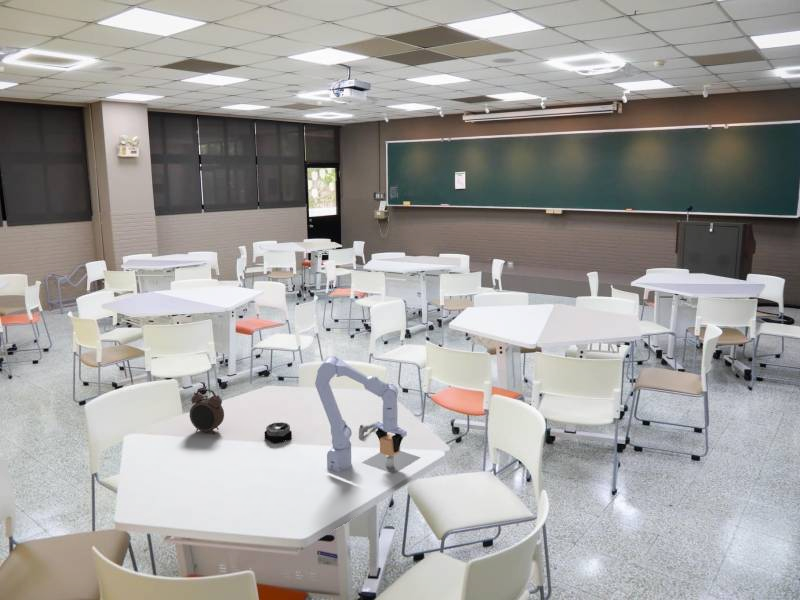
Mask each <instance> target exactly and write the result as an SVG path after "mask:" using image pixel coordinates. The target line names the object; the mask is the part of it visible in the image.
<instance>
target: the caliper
mask: <svg viewBox="0 0 800 600" xmlns="http://www.w3.org/2000/svg"><path fill="white" fill-rule="evenodd" d="M377 422H378V423H381V422H380V421H375V422H373V423H371V424H368V425H364V424H361V425H359V428H358V439H362V438H363V437H364V436H365V433H368V431H369V430H370V429H372V428H373V429H374V424H375V423H377Z"/></svg>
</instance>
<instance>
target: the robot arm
mask: <svg viewBox="0 0 800 600" xmlns="http://www.w3.org/2000/svg"><path fill="white" fill-rule="evenodd" d="M316 372H317V373H316V376H315V377H316V378H315V382H314V385H315V388H316V391H317V392H318V393H317V394H318V396H319V398H320V401H321V404H322V405H323V406H322V407H323V410H324V411H325V414H326V417H327V419H328V422H329V424H330V435H331V444H332V447H331V449H329V451H327V454H326V468H327V469H330V470H333V471H335V472H341V471H343V470H346V469H348V468H350V467H351V466H352V443H351V441H350V438H351V436H352V429H351V428H350V426H348V424H347V423H346V421H345V420H344V419H343V417H342V414H341V411H340V409H339V407H338V403H337V401H336V398H335V395H334V392H333V390H332V387H331V384H330V382H331V380H332V379H333V377H335V376H336V378H339V377H345V376H346V377H347V378H349V379H352V380H354V381H356V382H358V383H359V384H362V385H363V386H364V390H366V391H368V392H370V393H371V394H374V395H375V396H377V397H379V398H381V400H382V422H380V423H378V422H379V421H376V422H377V423H375V422H374V423H375V424H374V427H373V429H375V430H376V429H377V430H376V431H375V434H376V436H377V438H378V441H379V442H380V438H382V437H383V436H385V435H387V434H388V433H389V434H393V435H394V436H392V440H393V445H394V452H395V453H396V452H398V451H399V447H400V448H401V444H402V441H403V439H404V438H405V437H407V430H405V429H403V428H401V427H399V425H398V395H399V389H398V388H397V386H396V385H394V384H393V383H388V382H385V381H383V380H382V379H379V376H377V375H375V376H373V375H369V376H368V375H365V374H364V373H362V372H361V371H359V370H358V369H357V368H354V367H353V366H351V365H350V364H348V363H347V362H346V361H344V360H343V359H341V358H340V359H339V358H338V357H337V356H333V355H330V356H328V357H326V358H325V360H323V363H321V365H320V367H318V369H317V371H316Z"/></svg>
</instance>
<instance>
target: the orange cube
mask: <svg viewBox="0 0 800 600" xmlns="http://www.w3.org/2000/svg"><path fill="white" fill-rule="evenodd" d="M394 435H395V434H392V433H387V435H385V436H383V437H382V438H380V441H379V453H382V454H385V455H388V456H391V457H392V456H393V455H395V454H397V453H399V452H400V451H401V446H400V447H399V451H398V452H396V453H395V452H394V445H393V440H392V436H394Z"/></svg>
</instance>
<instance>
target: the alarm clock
mask: <svg viewBox="0 0 800 600" xmlns="http://www.w3.org/2000/svg"><path fill="white" fill-rule="evenodd" d="M201 391H206V392H210V393H212V395H211V396H210V397H209V396H208V395H204V394H202V393H199V392H201ZM190 402H191V403H192V406H191V408H190V409H189V410H190V411H189V419H190V422H191V424H192V426H194V427H195V429H196V430H195V432H196V433H198V431H200V432H205V433H206V432H212V433H213V435H216V433H215V431H214V430H215V429H216V430H217V431H218V430H220V428H218V427H219V426H220V425H221V424H222V423H223V421H224V419H225V410H224V407H223V406H222V404H223V401H222V398H221V397H220V396H219V395H217V394H216V393H215V391H214V390H213V389H209V388H200V389H198V390H197V391H194V392H193V395H192V397H191V401H190Z"/></svg>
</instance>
